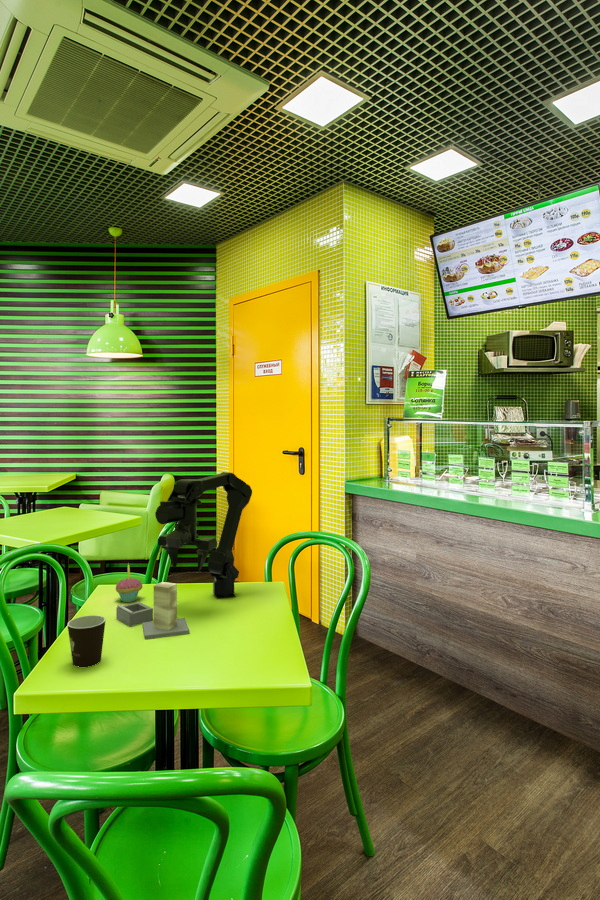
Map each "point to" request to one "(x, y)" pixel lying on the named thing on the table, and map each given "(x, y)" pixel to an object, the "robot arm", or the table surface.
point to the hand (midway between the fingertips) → (187, 568)
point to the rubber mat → (156, 632)
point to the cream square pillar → (165, 605)
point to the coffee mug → (86, 639)
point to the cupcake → (128, 588)
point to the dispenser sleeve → (134, 613)
